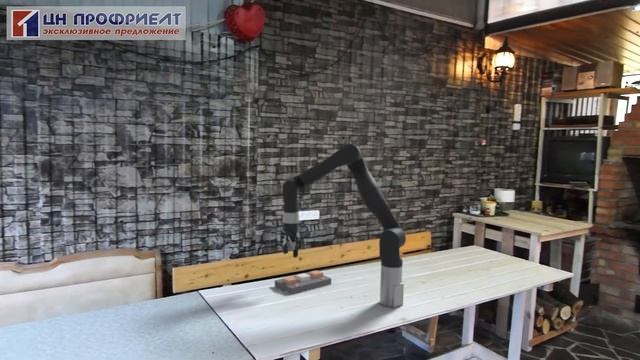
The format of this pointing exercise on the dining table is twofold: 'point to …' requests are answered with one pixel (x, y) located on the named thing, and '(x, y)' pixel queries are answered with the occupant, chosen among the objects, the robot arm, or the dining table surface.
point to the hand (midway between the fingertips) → (290, 255)
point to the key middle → (303, 277)
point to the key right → (316, 274)
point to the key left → (289, 280)
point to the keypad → (303, 284)
